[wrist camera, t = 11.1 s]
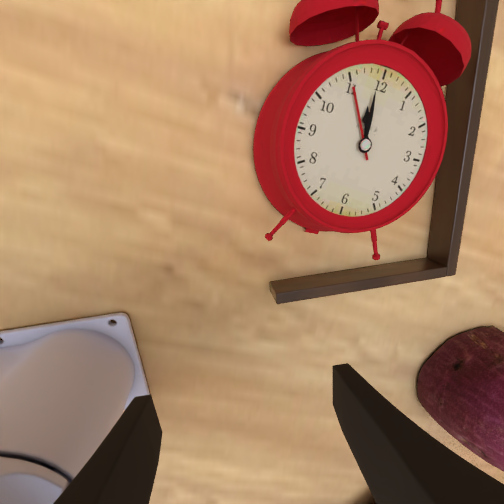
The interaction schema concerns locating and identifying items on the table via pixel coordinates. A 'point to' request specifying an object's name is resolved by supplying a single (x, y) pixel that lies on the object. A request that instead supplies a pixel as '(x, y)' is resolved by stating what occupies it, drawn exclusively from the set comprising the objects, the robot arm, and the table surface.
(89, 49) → the table surface
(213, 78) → the table surface
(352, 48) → the alarm clock
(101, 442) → the robot arm
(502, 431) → the vegetable
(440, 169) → the walnut frame
